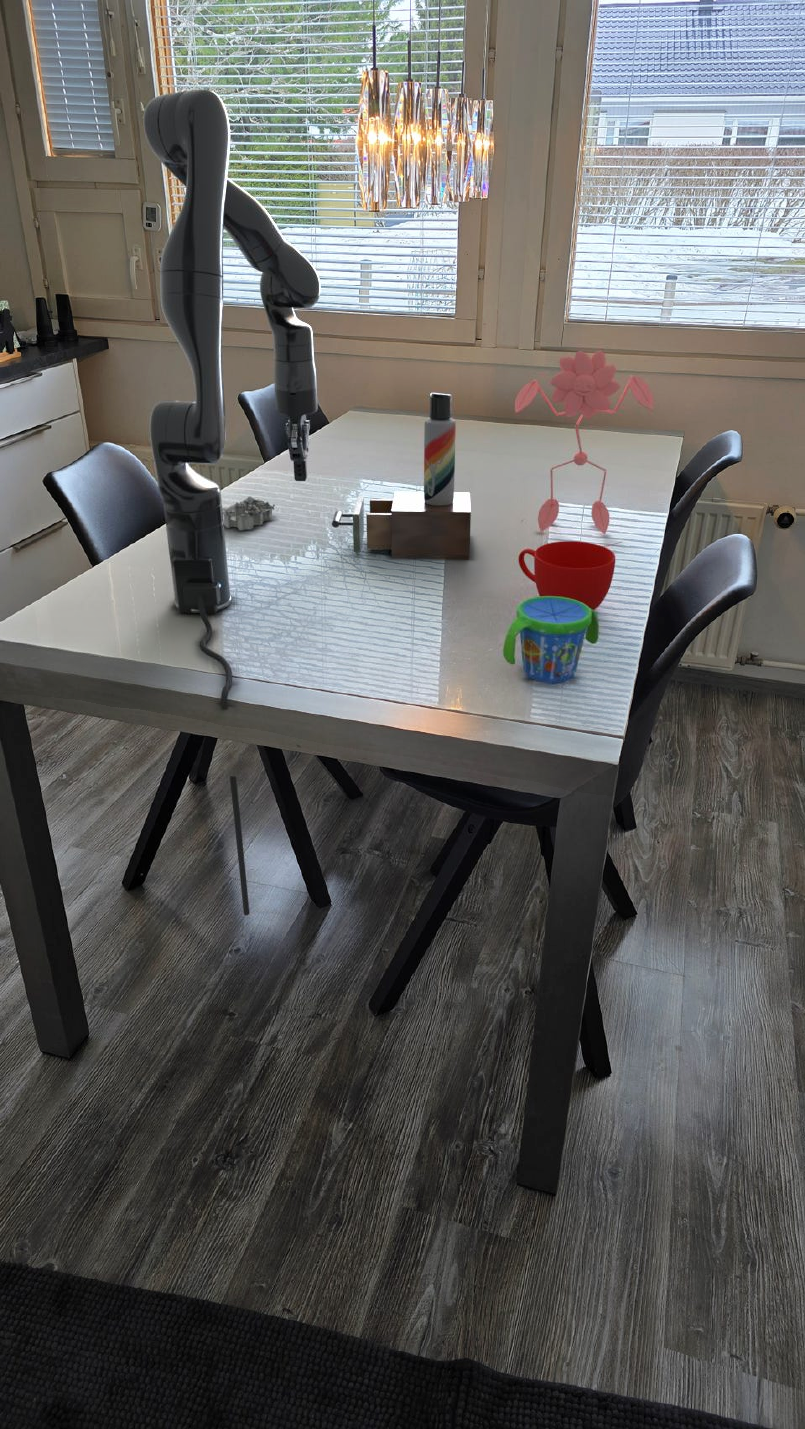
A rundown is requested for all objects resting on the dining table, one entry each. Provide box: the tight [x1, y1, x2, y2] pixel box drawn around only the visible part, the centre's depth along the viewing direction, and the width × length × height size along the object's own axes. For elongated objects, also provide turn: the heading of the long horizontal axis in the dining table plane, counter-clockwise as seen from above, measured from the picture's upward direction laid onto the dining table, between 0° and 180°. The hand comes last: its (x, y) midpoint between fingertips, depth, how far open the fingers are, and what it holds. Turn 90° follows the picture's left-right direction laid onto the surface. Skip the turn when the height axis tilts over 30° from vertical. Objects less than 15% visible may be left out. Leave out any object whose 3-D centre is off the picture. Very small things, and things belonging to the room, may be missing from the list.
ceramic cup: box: [517, 540, 616, 611], centre depth 165 cm, size 13×17×10 cm
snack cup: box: [502, 596, 600, 684], centre depth 144 cm, size 16×10×10 cm
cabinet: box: [391, 491, 472, 560], centre depth 191 cm, size 15×12×9 cm
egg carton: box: [222, 496, 276, 531], centre depth 206 cm, size 11×8×4 cm
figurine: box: [514, 350, 655, 548], centre depth 190 cm, size 15×26×35 cm, turn 80°
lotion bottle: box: [423, 392, 457, 506], centre depth 184 cm, size 6×6×20 cm
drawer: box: [331, 496, 393, 553], centre depth 191 cm, size 18×11×7 cm, turn 88°
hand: (300, 480), depth 188 cm, fingers closed
